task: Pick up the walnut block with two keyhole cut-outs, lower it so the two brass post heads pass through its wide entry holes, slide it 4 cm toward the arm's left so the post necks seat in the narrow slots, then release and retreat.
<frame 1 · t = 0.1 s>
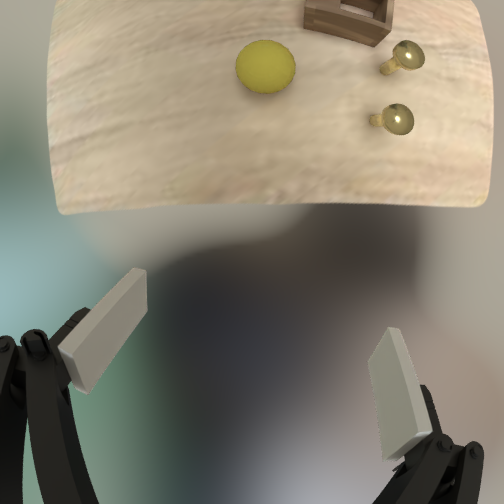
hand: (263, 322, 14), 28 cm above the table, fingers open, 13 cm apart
light bulb: (271, 77, 33), on the table
post b: (375, 120, 33), on the table
post a: (384, 69, 29), on the table
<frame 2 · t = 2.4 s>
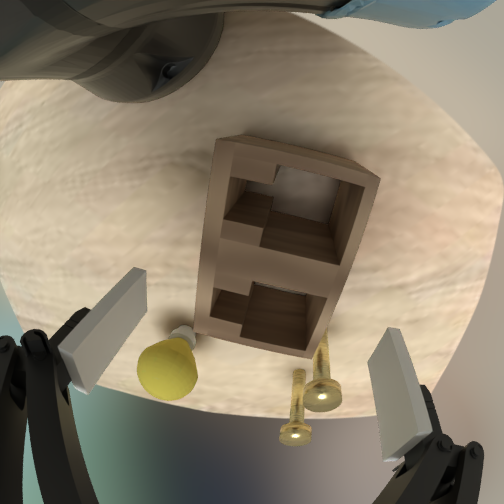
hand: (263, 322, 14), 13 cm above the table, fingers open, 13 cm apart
light bulb: (187, 331, 34), on the table
post b: (299, 373, 34), on the table
keyhole block: (280, 226, 26), on the table
post a: (319, 328, 30), on the table
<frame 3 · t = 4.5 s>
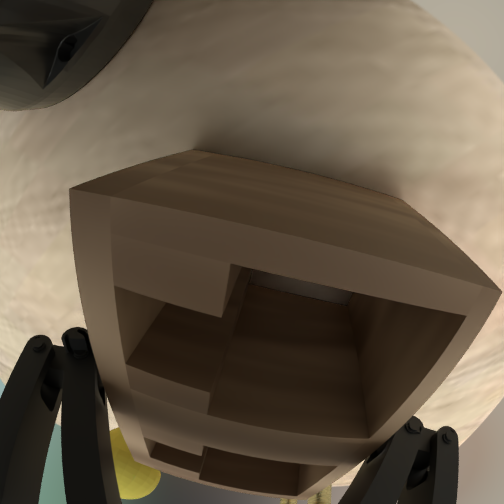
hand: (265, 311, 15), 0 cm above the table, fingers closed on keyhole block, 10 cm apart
light bulb: (149, 410, 23), on the table
keyhole block: (266, 308, 15), on the table, touching gripper
post a: (321, 423, 19), on the table
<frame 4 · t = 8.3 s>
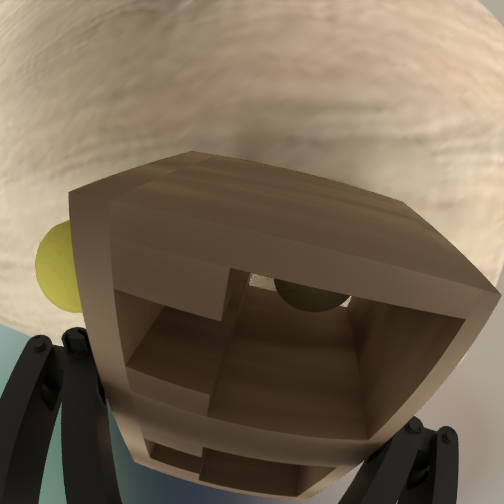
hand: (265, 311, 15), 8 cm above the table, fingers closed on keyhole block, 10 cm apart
light bulb: (123, 231, 24), on the table
keyhole block: (265, 310, 15), point 8 cm above the table, touching gripper
post a: (308, 208, 20), on the table
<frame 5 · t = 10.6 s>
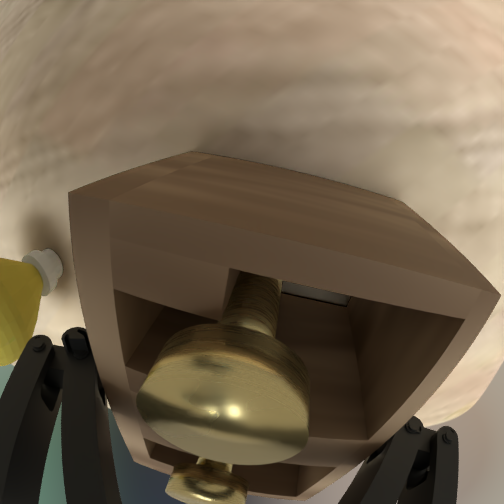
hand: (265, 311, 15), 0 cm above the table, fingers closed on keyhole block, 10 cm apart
light bulb: (54, 261, 17), on the table
post b: (244, 352, 17), on the table
keyhole block: (265, 310, 15), on the table, touching gripper
post a: (270, 236, 14), on the table
when the fingers open (0 cm above the table, at t = 12.3 s): keyhole block stays where it is, on the table.
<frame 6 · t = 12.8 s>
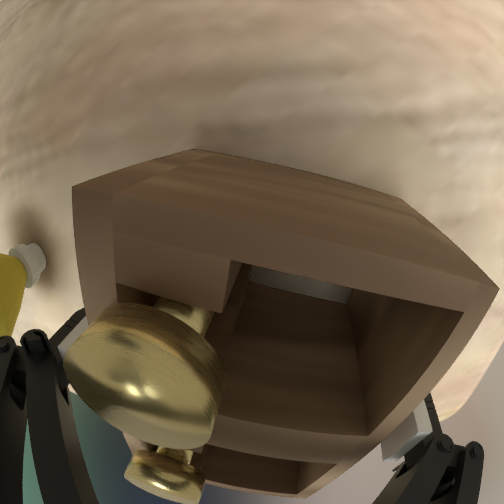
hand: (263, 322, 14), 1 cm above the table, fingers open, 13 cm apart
light bulb: (38, 255, 17), on the table
post b: (214, 346, 17), on the table
keyhole block: (266, 307, 15), on the table
post a: (232, 230, 14), on the table
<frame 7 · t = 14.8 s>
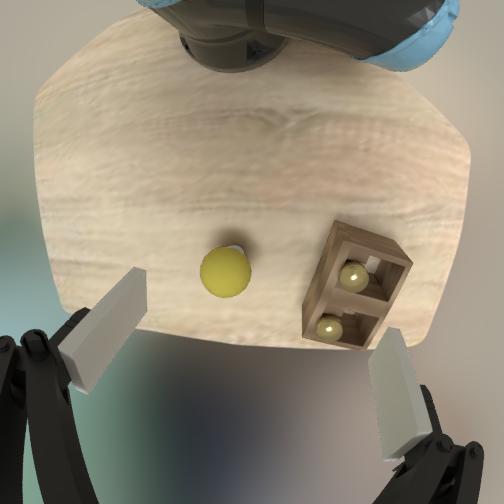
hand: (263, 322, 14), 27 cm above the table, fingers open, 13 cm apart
light bulb: (235, 251, 43), on the table
post b: (324, 292, 44), on the table
keyhole block: (347, 275, 42), on the table
post a: (342, 247, 40), on the table
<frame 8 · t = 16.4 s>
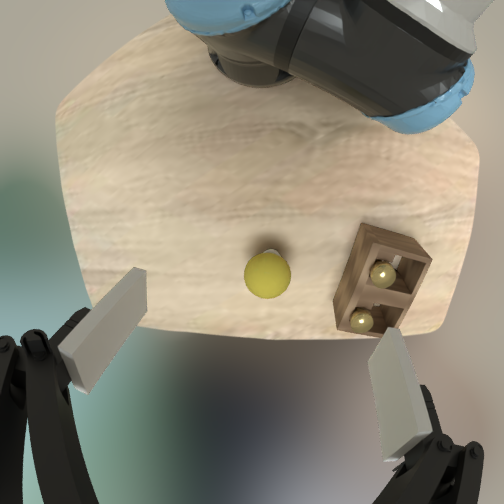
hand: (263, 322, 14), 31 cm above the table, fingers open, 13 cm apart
light bulb: (271, 254, 47), on the table
post b: (352, 287, 47), on the table
keyhole block: (373, 270, 45), on the table
post a: (368, 246, 43), on the table
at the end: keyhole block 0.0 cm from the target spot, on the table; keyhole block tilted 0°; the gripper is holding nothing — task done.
